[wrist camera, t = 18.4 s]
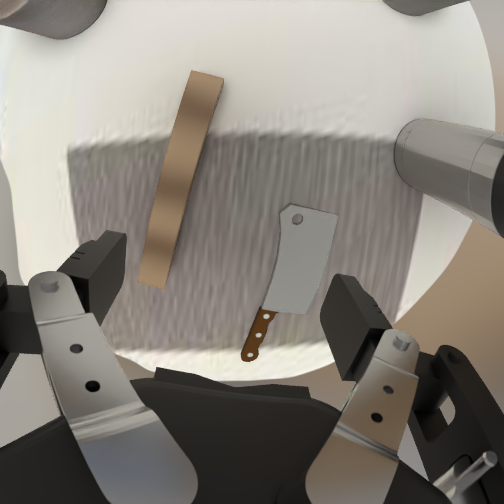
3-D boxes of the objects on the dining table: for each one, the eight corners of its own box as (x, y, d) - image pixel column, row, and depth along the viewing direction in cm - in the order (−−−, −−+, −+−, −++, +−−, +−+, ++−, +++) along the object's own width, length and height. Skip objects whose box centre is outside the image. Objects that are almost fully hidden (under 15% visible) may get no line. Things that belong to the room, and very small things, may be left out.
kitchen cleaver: (289, 367, 47) (226, 359, 45) (288, 363, 48) (225, 354, 46) (359, 220, 39) (286, 197, 36) (355, 217, 40) (284, 194, 37)
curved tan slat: (196, 77, 31) (191, 70, 25) (223, 84, 31) (223, 78, 26) (148, 258, 39) (137, 282, 33) (171, 264, 39) (164, 289, 34)
